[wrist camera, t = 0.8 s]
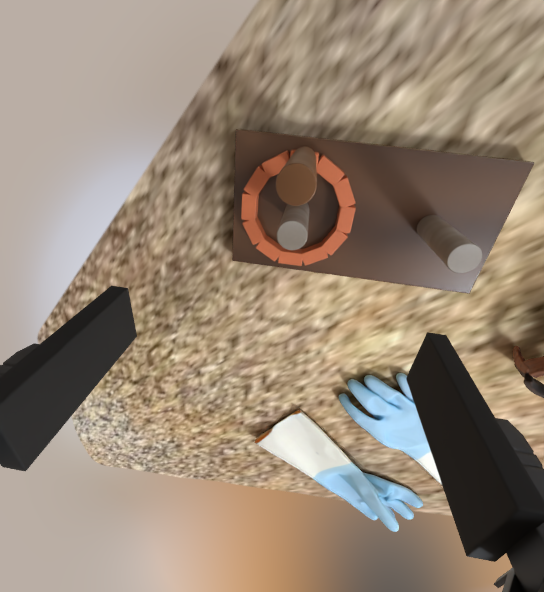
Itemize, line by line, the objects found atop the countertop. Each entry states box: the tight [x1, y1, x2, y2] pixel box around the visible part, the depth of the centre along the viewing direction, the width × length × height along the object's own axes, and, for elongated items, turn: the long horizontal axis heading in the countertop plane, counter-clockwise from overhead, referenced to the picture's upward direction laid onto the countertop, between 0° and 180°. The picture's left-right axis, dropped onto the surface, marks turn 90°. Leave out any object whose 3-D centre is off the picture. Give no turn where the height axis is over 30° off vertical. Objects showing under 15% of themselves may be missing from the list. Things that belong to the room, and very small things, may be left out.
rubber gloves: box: [255, 373, 442, 532], centre depth 46 cm, size 27×33×6 cm
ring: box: [241, 146, 356, 266], centre depth 24 cm, size 11×11×14 cm
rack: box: [232, 129, 534, 293], centre depth 27 cm, size 13×26×10 cm, turn 85°
